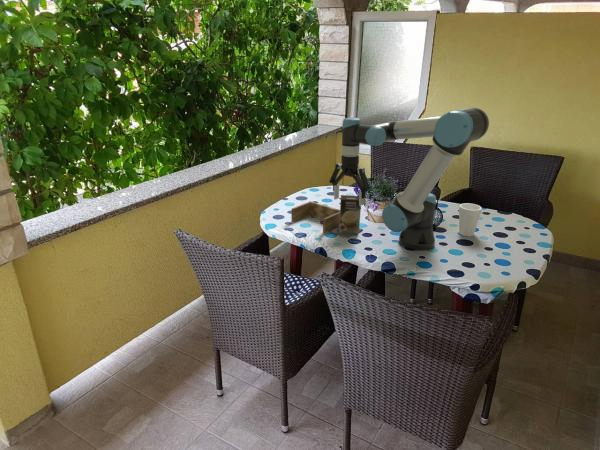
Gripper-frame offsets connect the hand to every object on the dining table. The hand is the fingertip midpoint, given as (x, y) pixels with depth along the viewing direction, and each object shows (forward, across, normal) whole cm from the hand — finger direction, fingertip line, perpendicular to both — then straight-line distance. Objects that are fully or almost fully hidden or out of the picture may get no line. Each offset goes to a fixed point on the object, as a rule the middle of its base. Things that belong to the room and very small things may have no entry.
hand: (348, 201), depth 203 cm
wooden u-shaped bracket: (+14, +17, +1) cm, 22 cm away
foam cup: (+16, -41, -36) cm, 57 cm away
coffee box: (+14, -1, 0) cm, 14 cm away
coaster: (+15, +1, 0) cm, 15 cm away
